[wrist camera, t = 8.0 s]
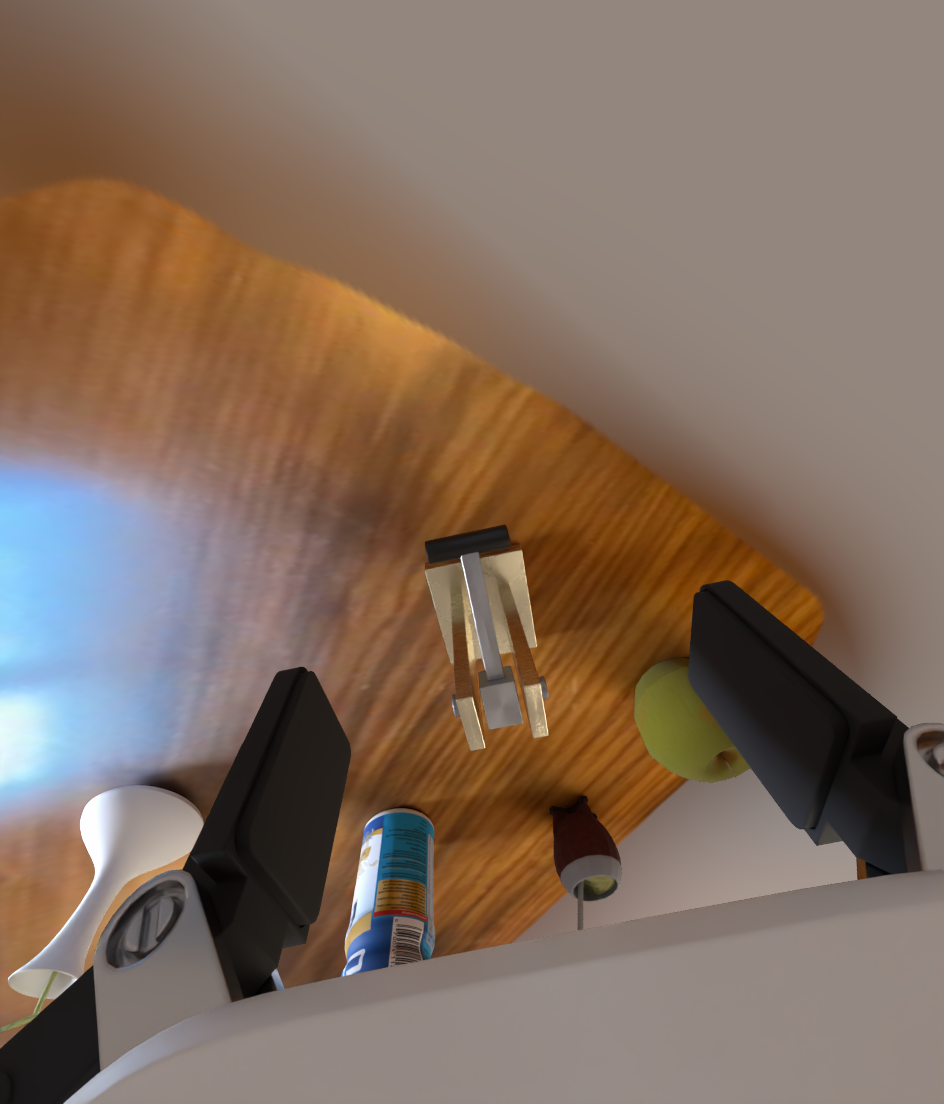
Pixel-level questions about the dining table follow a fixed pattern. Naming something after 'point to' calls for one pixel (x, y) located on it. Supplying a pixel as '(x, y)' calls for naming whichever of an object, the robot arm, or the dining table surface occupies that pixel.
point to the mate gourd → (584, 855)
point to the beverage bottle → (392, 893)
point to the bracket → (510, 627)
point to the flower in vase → (110, 876)
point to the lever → (483, 619)
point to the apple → (683, 726)
